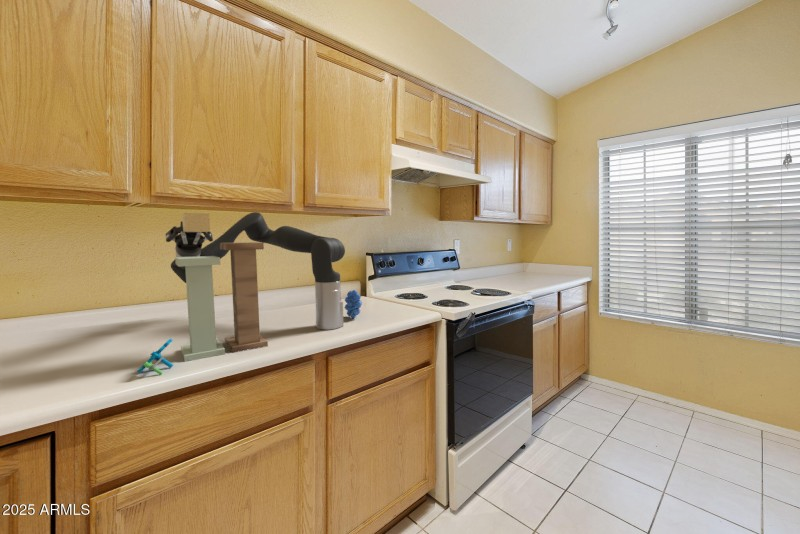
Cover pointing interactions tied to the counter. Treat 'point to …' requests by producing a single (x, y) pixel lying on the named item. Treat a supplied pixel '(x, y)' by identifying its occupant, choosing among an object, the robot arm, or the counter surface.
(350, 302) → the grapes
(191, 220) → the tan wooden block
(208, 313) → the short stand
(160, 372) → the tinkertoy rod frame
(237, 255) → the tall stand
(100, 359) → the counter surface
